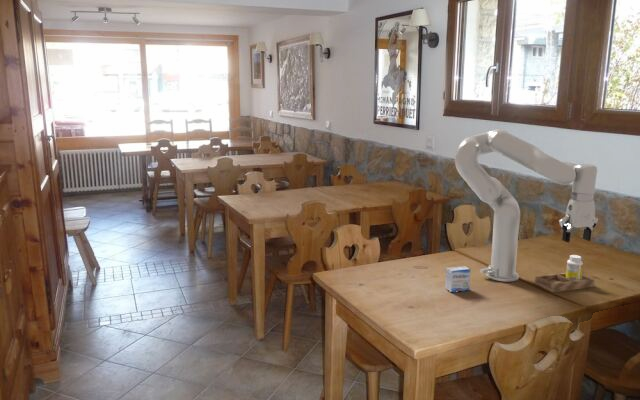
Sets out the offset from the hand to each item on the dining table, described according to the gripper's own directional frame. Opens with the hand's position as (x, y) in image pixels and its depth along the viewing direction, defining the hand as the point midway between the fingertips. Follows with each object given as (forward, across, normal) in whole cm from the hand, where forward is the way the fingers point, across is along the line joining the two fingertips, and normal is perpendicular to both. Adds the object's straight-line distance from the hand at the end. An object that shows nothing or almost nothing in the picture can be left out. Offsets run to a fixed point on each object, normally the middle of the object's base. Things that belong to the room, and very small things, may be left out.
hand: (576, 240), depth 197 cm
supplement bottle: (+17, +1, -1) cm, 17 cm away
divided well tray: (+18, -4, -1) cm, 18 cm away
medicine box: (+19, -46, +7) cm, 50 cm away
